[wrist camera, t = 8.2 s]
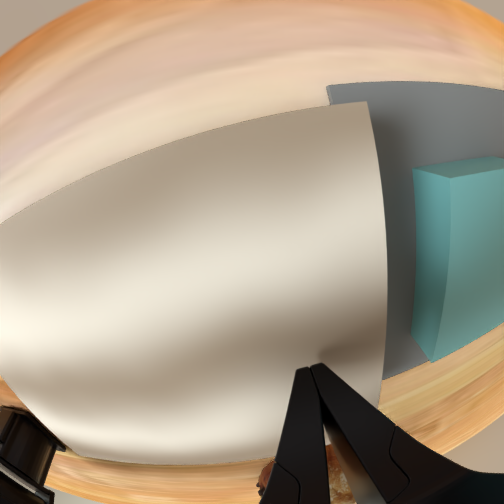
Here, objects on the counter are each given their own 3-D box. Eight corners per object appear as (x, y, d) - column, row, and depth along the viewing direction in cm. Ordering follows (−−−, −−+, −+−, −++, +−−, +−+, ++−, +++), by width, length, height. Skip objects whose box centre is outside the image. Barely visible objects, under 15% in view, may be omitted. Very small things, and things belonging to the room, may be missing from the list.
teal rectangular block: (431, 363, 11) (410, 334, 13) (504, 321, 11) (481, 300, 13) (449, 178, 8) (411, 167, 10) (527, 164, 7) (492, 156, 10)
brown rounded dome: (327, 450, 25) (370, 493, 19) (249, 492, 21) (289, 545, 14) (345, 404, 21) (406, 457, 15) (243, 459, 17) (301, 534, 10)
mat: (508, 312, 14) (510, 313, 14) (359, 384, 15) (361, 388, 15) (520, 95, 8) (524, 95, 8) (325, 86, 9) (328, 85, 9)
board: (352, 377, 15) (373, 430, 11) (93, 413, 15) (78, 455, 12) (319, 113, 9) (366, 101, 6) (-15, 239, 10) (-60, 269, 6)
